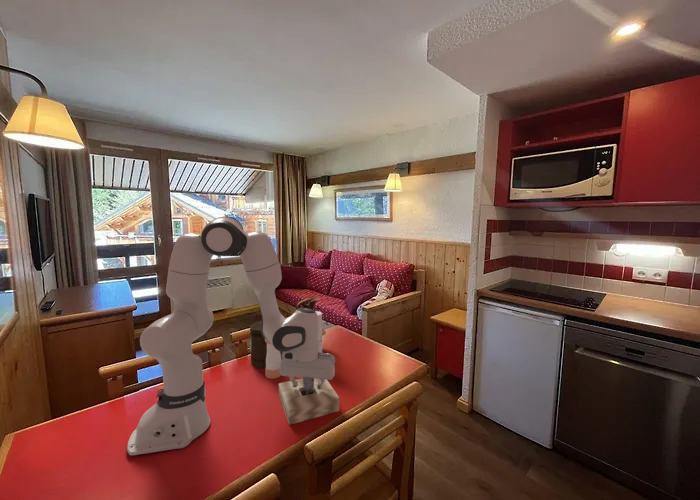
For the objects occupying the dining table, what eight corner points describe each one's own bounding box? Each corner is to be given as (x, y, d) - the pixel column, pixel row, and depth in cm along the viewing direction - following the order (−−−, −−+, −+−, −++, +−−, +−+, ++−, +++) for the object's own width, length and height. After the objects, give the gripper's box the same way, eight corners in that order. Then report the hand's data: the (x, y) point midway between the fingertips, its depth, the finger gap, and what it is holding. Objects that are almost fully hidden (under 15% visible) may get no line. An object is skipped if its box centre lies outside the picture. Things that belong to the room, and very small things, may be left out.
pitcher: (307, 362, 140) (307, 305, 138) (284, 352, 151) (283, 299, 148) (332, 350, 154) (332, 297, 151) (309, 341, 165) (309, 292, 162)
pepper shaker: (285, 374, 131) (284, 332, 129) (271, 380, 125) (270, 337, 123) (275, 368, 136) (274, 328, 134) (262, 375, 130) (260, 332, 128)
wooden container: (264, 352, 153) (263, 310, 150) (288, 357, 147) (287, 314, 145) (244, 365, 139) (242, 319, 137) (269, 371, 133) (268, 324, 131)
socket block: (289, 424, 98) (288, 410, 98) (278, 395, 115) (278, 383, 114) (339, 410, 105) (339, 397, 105) (323, 385, 122) (322, 373, 121)
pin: (305, 404, 107) (305, 378, 106) (302, 399, 111) (301, 373, 110) (316, 401, 109) (315, 375, 108) (312, 396, 112) (311, 371, 112)
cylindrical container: (325, 364, 140) (325, 312, 138) (315, 370, 134) (315, 316, 132) (313, 360, 144) (313, 310, 142) (303, 366, 138) (303, 314, 136)
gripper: (336, 349, 110) (336, 385, 111) (283, 346, 113) (284, 381, 114) (333, 357, 104) (333, 395, 105) (277, 353, 106) (278, 390, 108)
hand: (307, 387), depth 109 cm, fingers open, 8 cm apart
